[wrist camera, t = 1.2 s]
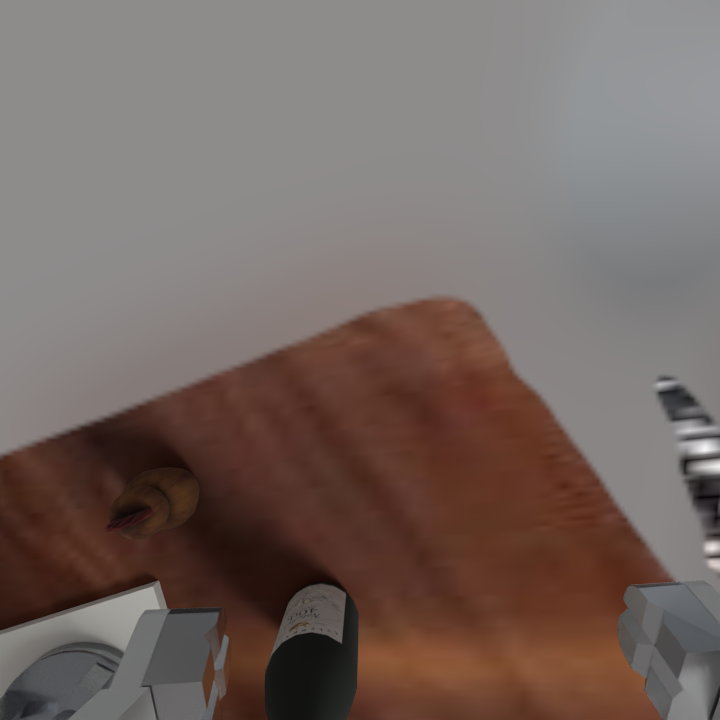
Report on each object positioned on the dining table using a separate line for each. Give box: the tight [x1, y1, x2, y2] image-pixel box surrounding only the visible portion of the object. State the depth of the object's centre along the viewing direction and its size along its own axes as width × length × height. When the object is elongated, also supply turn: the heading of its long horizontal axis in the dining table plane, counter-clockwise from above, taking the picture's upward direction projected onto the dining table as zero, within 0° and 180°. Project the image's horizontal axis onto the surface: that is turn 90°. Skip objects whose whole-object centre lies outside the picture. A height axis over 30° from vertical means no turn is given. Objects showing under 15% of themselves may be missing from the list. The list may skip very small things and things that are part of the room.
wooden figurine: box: [105, 467, 200, 540], centre depth 49 cm, size 7×6×15 cm
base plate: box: [0, 580, 167, 698], centre depth 55 cm, size 22×22×2 cm
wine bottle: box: [265, 582, 358, 720], centre depth 41 cm, size 8×8×30 cm
